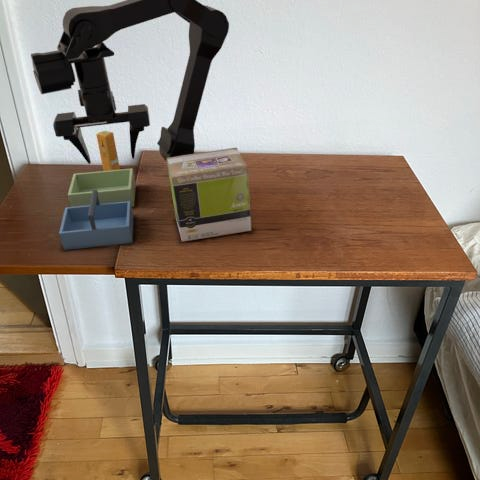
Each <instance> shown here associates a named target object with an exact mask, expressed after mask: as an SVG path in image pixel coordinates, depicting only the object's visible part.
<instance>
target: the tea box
mask: <svg viewBox="0 0 480 480" xmlns="http://www.w3.org/2000/svg"><path fill="white" fill-rule="evenodd" d="M166 167H167V171H168V179H169V185H170V192H171V198H172V205H173V210H174V216H175V220H176V225H177V228H178V232H179V236H180V239H181V240H180V241H181V242H183V243H184V242H189V241H196V240H201V239H207V238H215V237H221V236H226V235H233V234H238V233H245V232H252V216H251V200H250V198H251V197H250V184H249V169H248V165H247V163H246V162H245V160H244V158H243V156H242V154H241V152H240V151H239V149H238V147H230V148H229V147H228V148H224V149H223V148H222V149H217V150H211V151H202V152H194V154H189V155H182V156H176V157H168V158H167V161H166Z"/></svg>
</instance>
